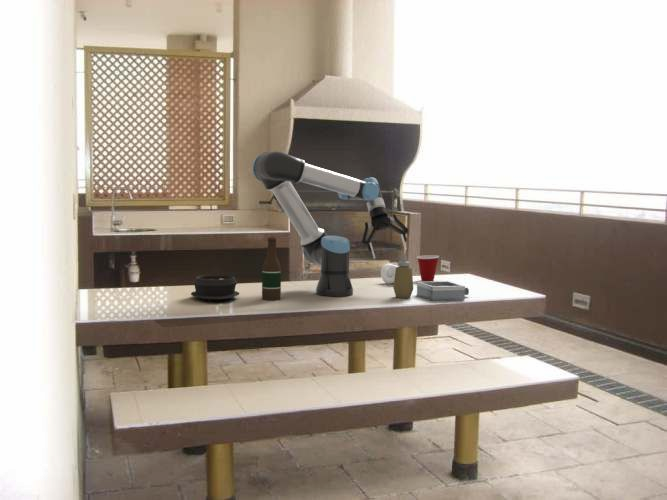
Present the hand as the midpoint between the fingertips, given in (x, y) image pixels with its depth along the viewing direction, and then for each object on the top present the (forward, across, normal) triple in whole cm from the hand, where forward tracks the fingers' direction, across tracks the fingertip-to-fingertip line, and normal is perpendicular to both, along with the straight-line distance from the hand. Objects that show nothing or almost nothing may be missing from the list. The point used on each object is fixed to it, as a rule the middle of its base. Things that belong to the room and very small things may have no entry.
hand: (390, 253), depth 282 cm
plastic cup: (-2, -15, -46) cm, 49 cm away
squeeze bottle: (+21, 0, +1) cm, 21 cm away
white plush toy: (0, +1, -34) cm, 34 cm away
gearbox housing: (+24, -17, -4) cm, 29 cm away
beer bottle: (+14, +50, +18) cm, 55 cm away
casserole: (+10, +71, +22) cm, 75 cm away
